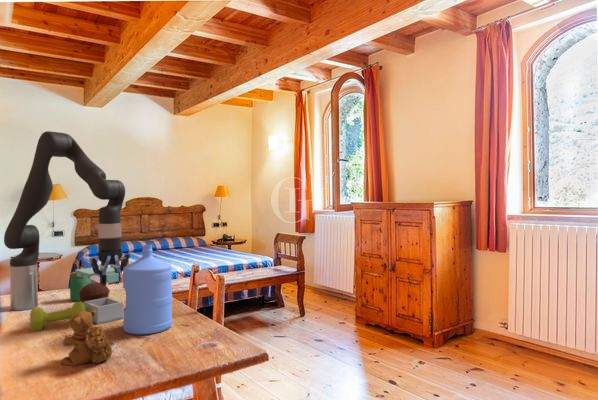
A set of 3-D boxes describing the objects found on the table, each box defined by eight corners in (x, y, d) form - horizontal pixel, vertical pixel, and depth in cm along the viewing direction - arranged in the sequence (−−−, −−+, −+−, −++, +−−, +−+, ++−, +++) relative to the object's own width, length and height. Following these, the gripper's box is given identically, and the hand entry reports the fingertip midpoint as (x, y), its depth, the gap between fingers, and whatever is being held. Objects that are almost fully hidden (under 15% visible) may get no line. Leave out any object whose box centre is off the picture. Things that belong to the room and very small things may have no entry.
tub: (83, 318, 153) (83, 301, 153) (108, 312, 160) (108, 297, 159) (97, 324, 145) (97, 307, 145) (123, 318, 152) (122, 302, 152)
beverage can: (87, 296, 186) (87, 269, 186) (93, 299, 180) (93, 272, 180) (68, 299, 181) (67, 272, 181) (73, 303, 175) (72, 274, 175)
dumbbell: (30, 333, 136) (30, 311, 136) (30, 327, 143) (29, 306, 143) (86, 324, 145) (86, 304, 145) (83, 319, 152) (83, 299, 152)
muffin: (112, 309, 165) (112, 284, 164) (81, 314, 158) (80, 287, 158) (107, 303, 174) (106, 279, 174) (77, 307, 168) (76, 282, 168)
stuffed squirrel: (86, 350, 120) (86, 305, 120) (124, 357, 115) (123, 310, 115) (55, 363, 111) (54, 314, 111) (93, 371, 106) (93, 320, 106)
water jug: (182, 324, 145) (181, 243, 144) (148, 338, 130) (147, 248, 130) (148, 318, 151) (147, 241, 151) (112, 331, 137) (111, 246, 137)
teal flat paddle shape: (75, 277, 155) (75, 269, 155) (104, 273, 163) (104, 266, 163) (97, 284, 142) (97, 276, 142) (128, 279, 151) (128, 272, 150)
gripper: (124, 234, 156) (124, 279, 156) (84, 236, 145) (84, 286, 145) (134, 235, 151) (134, 282, 151) (93, 238, 140) (94, 289, 140)
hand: (110, 284), depth 148 cm, fingers closed on teal flat paddle shape, 4 cm apart
